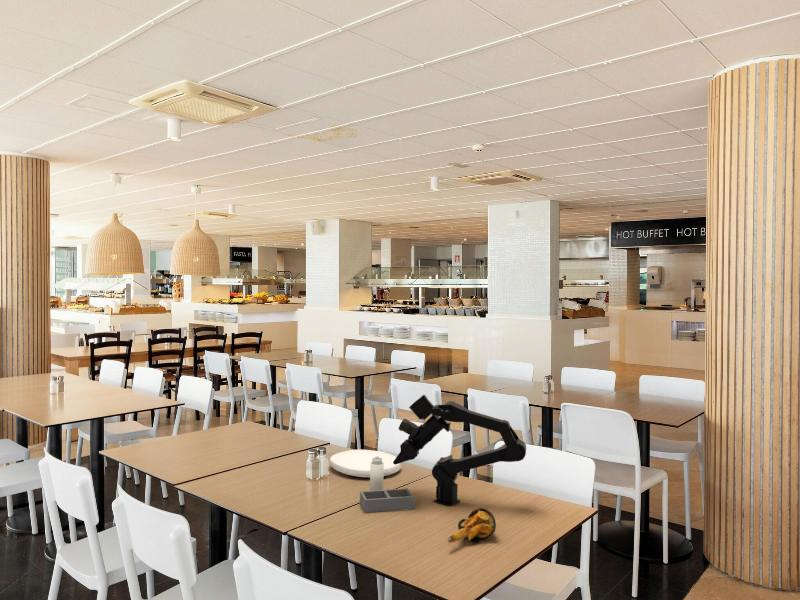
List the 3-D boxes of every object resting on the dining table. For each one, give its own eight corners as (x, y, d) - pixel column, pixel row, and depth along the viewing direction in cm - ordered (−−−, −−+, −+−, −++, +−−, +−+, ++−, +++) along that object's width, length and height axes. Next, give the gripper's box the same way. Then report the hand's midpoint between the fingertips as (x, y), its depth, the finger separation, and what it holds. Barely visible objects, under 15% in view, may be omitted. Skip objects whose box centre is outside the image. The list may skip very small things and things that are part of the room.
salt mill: (385, 494, 210) (386, 456, 210) (377, 498, 207) (377, 458, 206) (376, 491, 213) (376, 453, 213) (367, 495, 210) (367, 456, 209)
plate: (413, 455, 244) (380, 473, 221) (411, 471, 245) (378, 490, 221) (354, 439, 257) (317, 454, 234) (352, 454, 258) (315, 470, 234)
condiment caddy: (407, 500, 205) (407, 488, 205) (414, 509, 197) (414, 496, 197) (359, 503, 201) (360, 491, 201) (364, 512, 193) (364, 500, 193)
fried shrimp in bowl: (508, 520, 176) (484, 519, 161) (489, 553, 176) (463, 555, 161) (483, 501, 181) (458, 498, 167) (464, 534, 181) (437, 533, 167)
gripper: (418, 407, 216) (387, 435, 218) (407, 417, 197) (374, 448, 200) (439, 430, 214) (408, 459, 217) (430, 443, 196) (396, 474, 198)
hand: (397, 459), depth 208 cm, fingers open, 9 cm apart
